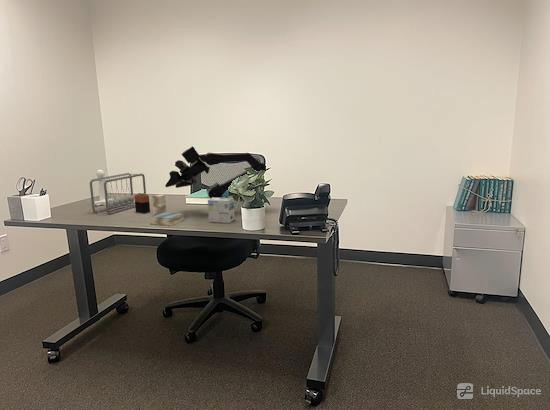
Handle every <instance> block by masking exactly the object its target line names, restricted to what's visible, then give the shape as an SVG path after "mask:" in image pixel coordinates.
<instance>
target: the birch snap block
mask: <svg viewBox="0 0 550 410" xmlns="http://www.w3.org/2000/svg"><path fill="white" fill-rule="evenodd" d="M151 198H152V200H151V201H152V214H153V216H155V215H159V214H161V213H167V200H166V194H159V193H157V194H153V195H152V196H151Z"/></svg>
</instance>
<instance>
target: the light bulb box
mask: <svg viewBox="0 0 550 410" xmlns="http://www.w3.org/2000/svg"><path fill="white" fill-rule="evenodd" d="M233 198H234V197H224V198H214V197H213V198H211V199H210V198H209V199H207V207H208V208H207V211H208V222H209V223H222V224H225V223H226V224H227V223H228V224H230V223H232V222H233V221H234V220H236V219H235V201H234V199H233Z"/></svg>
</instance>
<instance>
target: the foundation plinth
mask: <svg viewBox="0 0 550 410" xmlns="http://www.w3.org/2000/svg"><path fill="white" fill-rule="evenodd" d="M184 217H185V216H184V213H177V212H166V213H161V214H159V215H156V216H155V215H153V216H152V217H149V223H150V225H154V224H157V226H168V225H170V227H171V226H174V225H177V224H178V223H180V222H182V221H185V219H184Z"/></svg>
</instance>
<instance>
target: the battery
mask: <svg viewBox="0 0 550 410" xmlns="http://www.w3.org/2000/svg"><path fill="white" fill-rule="evenodd" d="M134 205H135V207H134V209H135V212H136V213H140V214H149V213H150V212H151V205H150V195H149V194H146V195H145V193H144V192H142V193H141V192H138V193H137V194H134Z"/></svg>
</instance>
